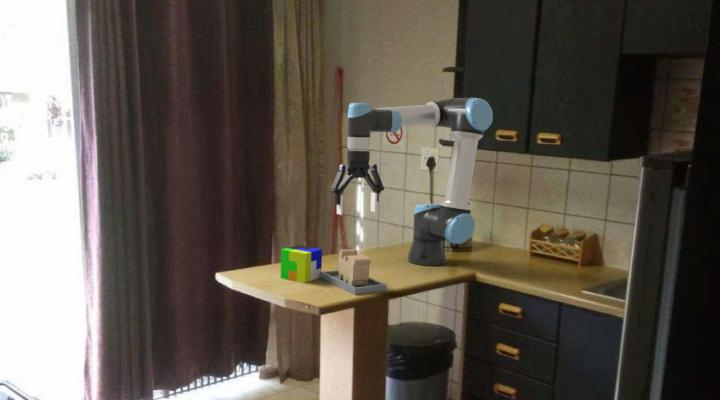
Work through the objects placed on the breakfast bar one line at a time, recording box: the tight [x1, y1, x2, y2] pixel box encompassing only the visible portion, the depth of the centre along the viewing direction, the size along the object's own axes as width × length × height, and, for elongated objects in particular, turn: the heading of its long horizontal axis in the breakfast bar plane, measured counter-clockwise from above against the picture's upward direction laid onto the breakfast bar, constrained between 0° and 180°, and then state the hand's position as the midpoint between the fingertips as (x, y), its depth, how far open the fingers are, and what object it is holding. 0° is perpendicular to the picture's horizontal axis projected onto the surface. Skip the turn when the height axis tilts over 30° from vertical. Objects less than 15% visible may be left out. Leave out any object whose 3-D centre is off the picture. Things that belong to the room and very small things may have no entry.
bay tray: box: [319, 269, 387, 295], centre depth 213 cm, size 23×12×2 cm, turn 32°
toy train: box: [336, 248, 372, 286], centre depth 213 cm, size 6×17×10 cm, turn 21°
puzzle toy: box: [280, 244, 323, 284], centre depth 218 cm, size 10×10×10 cm
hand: (356, 213), depth 214 cm, fingers open, 13 cm apart
